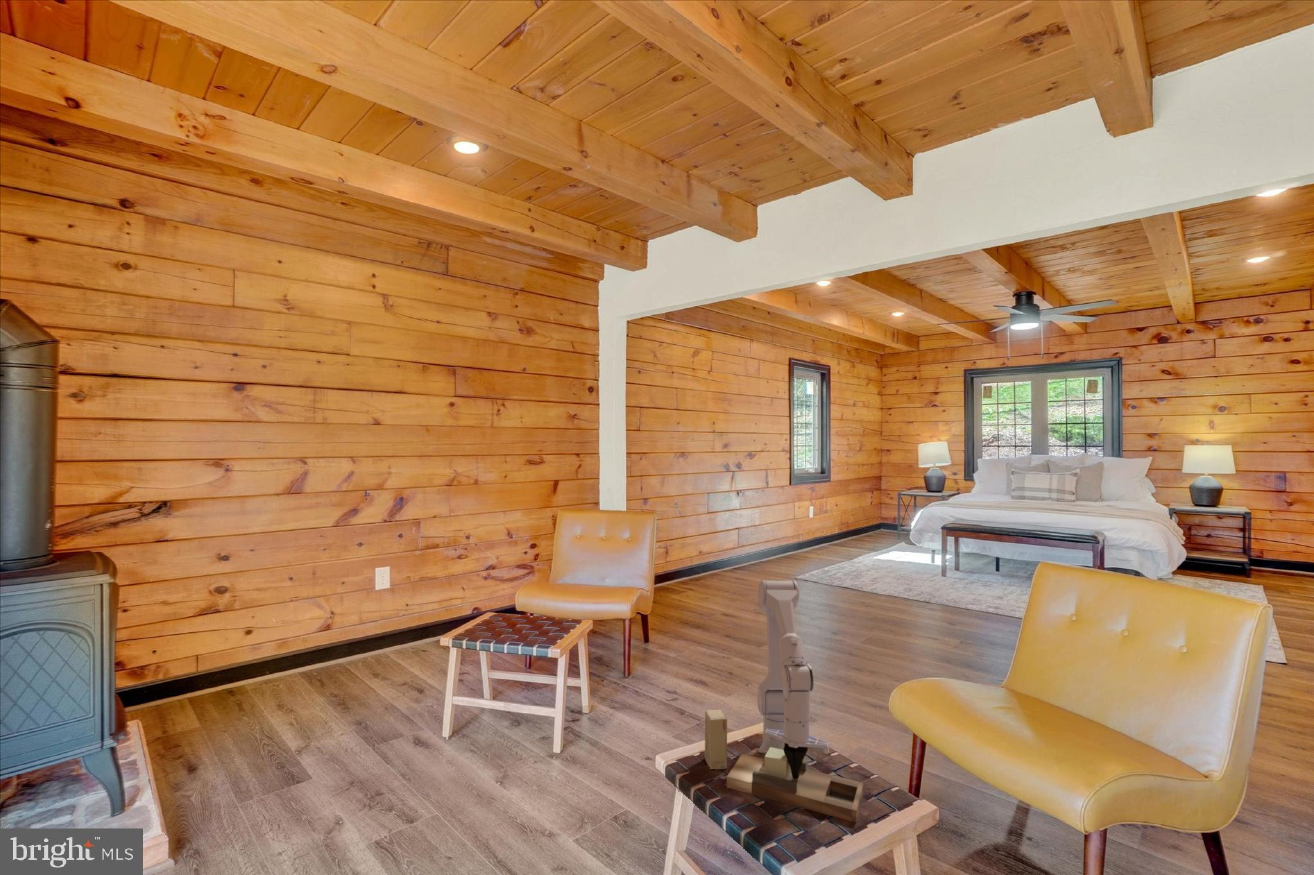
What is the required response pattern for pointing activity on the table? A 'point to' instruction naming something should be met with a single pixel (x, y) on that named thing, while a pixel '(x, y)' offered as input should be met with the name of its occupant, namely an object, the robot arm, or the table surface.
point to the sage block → (777, 763)
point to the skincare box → (716, 739)
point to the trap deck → (799, 788)
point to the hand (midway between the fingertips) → (795, 776)
